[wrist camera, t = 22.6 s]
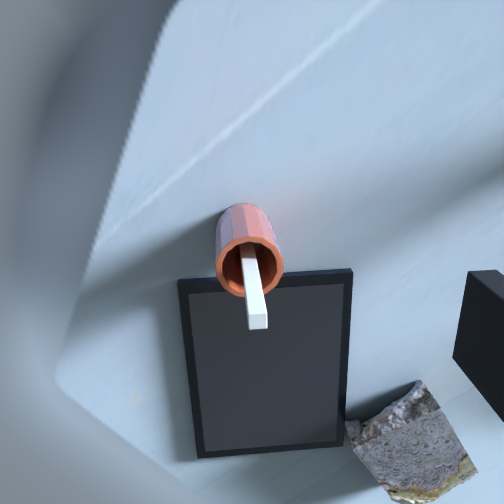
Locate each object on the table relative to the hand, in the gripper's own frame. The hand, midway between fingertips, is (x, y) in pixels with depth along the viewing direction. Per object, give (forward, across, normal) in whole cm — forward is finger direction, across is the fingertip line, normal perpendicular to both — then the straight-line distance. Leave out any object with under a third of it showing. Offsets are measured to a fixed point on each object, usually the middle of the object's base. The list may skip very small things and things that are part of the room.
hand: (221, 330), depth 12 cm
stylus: (+30, +2, -9) cm, 31 cm away
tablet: (+31, +4, -26) cm, 40 cm away
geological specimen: (+31, +21, -37) cm, 53 cm away
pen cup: (+31, +2, -9) cm, 32 cm away
